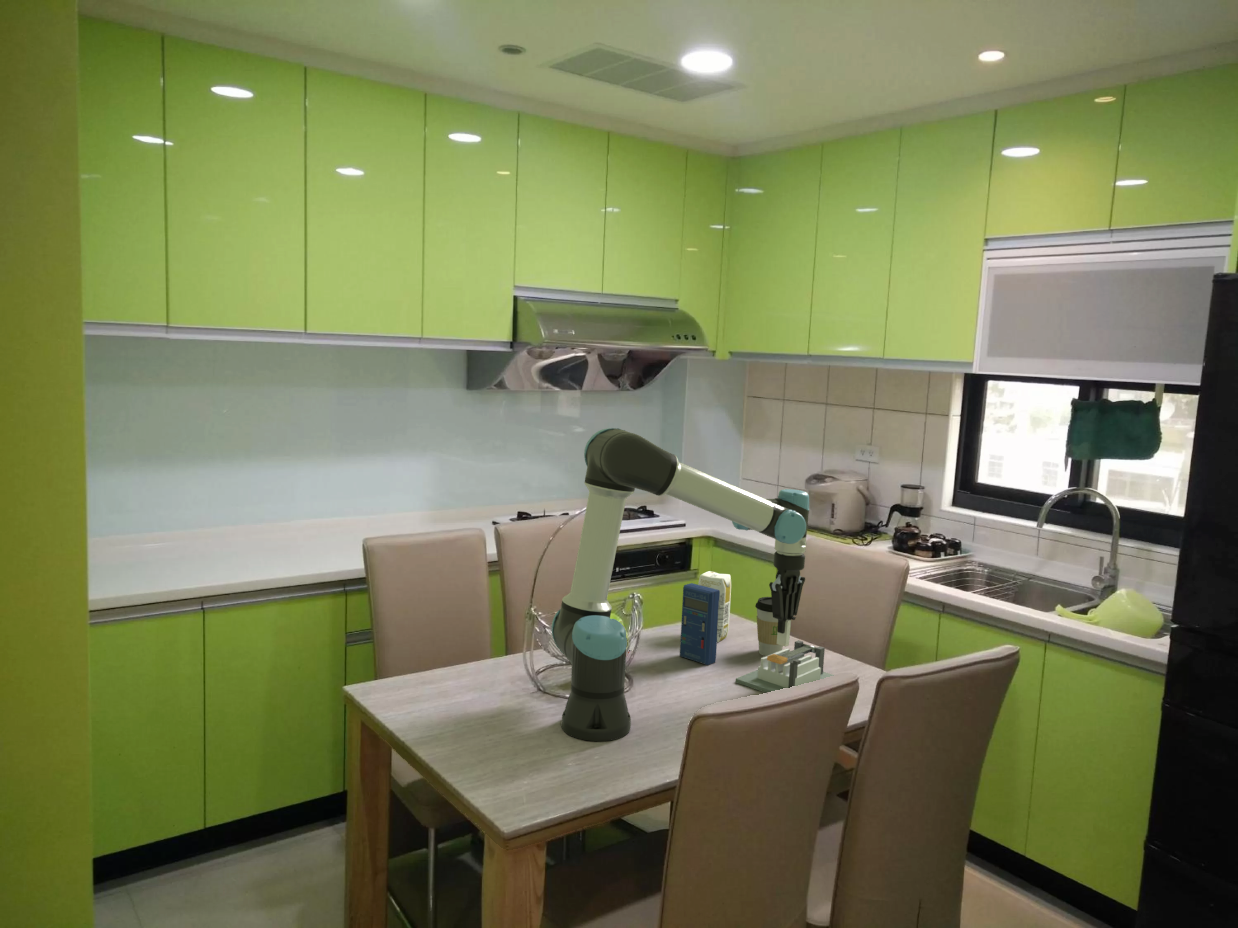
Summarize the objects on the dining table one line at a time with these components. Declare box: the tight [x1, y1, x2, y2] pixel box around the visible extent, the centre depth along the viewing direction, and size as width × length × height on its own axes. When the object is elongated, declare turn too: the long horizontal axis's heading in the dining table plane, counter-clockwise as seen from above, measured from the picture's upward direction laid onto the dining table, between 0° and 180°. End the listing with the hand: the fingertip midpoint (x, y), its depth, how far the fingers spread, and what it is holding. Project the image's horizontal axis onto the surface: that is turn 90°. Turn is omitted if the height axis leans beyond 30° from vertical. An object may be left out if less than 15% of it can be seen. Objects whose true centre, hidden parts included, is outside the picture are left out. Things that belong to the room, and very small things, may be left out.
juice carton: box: [697, 570, 732, 643], centre depth 261 cm, size 8×9×19 cm
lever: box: [767, 643, 818, 664], centre depth 228 cm, size 17×4×2 cm, turn 137°
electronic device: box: [679, 582, 720, 666], centre depth 242 cm, size 10×5×20 cm, turn 48°
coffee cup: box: [755, 596, 784, 657], centre depth 250 cm, size 10×10×15 cm
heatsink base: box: [735, 639, 835, 694], centre depth 228 cm, size 22×18×9 cm
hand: (782, 644), depth 225 cm, fingers closed
